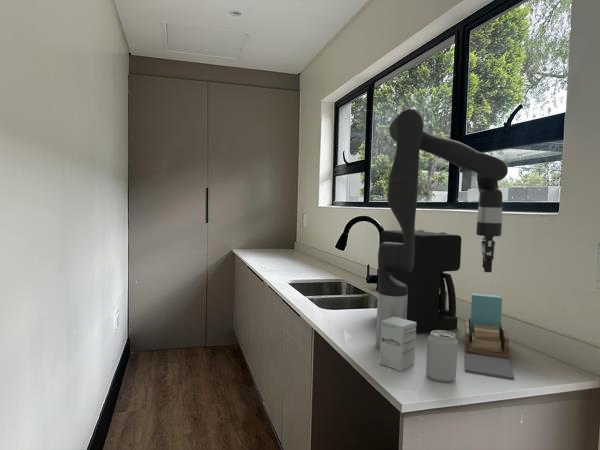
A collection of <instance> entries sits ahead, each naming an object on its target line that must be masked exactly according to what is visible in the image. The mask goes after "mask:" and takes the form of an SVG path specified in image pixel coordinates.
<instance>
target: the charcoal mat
mask: <svg viewBox="0 0 600 450" xmlns="http://www.w3.org/2000/svg"><path fill="white" fill-rule="evenodd" d="M464 372H465V373H468V374H469V373H471V374H477V375H481V376H490V377H495V378H501V379H508V380H515V377H514V373H513V369H512V365H511V362H510V359H509V358H508V359H504V358H497V357H490V356H483V355H476V354H469V353H465V352H464Z"/></svg>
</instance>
